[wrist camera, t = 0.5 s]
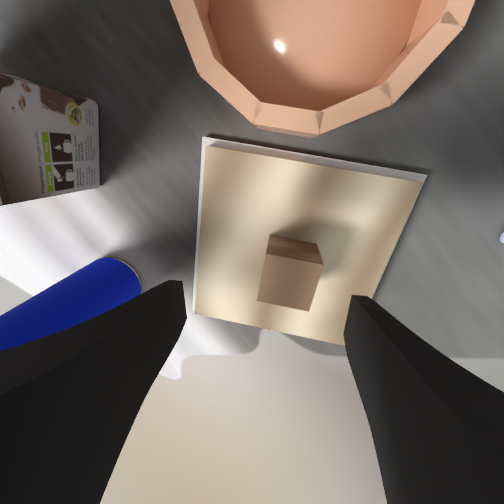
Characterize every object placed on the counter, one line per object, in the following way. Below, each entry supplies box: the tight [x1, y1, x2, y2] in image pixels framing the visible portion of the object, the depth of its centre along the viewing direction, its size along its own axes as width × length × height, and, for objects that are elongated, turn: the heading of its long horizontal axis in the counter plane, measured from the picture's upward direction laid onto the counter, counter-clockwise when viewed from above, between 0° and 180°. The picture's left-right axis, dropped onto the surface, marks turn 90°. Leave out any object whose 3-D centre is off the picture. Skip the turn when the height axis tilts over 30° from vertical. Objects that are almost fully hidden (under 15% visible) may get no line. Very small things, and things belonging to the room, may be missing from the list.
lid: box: [195, 146, 422, 346], centre depth 17 cm, size 14×14×4 cm
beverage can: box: [0, 258, 141, 351], centre depth 16 cm, size 5×5×15 cm
